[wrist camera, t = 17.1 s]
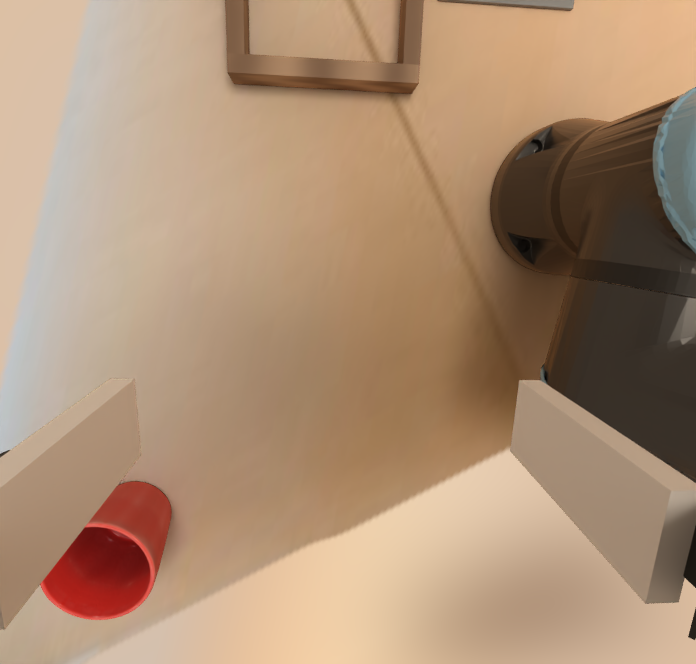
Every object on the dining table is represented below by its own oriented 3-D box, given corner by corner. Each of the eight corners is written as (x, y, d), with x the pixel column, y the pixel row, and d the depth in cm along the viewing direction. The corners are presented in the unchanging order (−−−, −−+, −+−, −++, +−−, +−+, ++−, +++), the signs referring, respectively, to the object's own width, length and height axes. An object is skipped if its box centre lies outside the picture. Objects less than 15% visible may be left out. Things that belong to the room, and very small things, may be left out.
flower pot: (68, 498, 49) (9, 562, 39) (149, 452, 48) (109, 505, 39) (125, 564, 51) (82, 639, 42) (203, 520, 51) (177, 587, 41)
